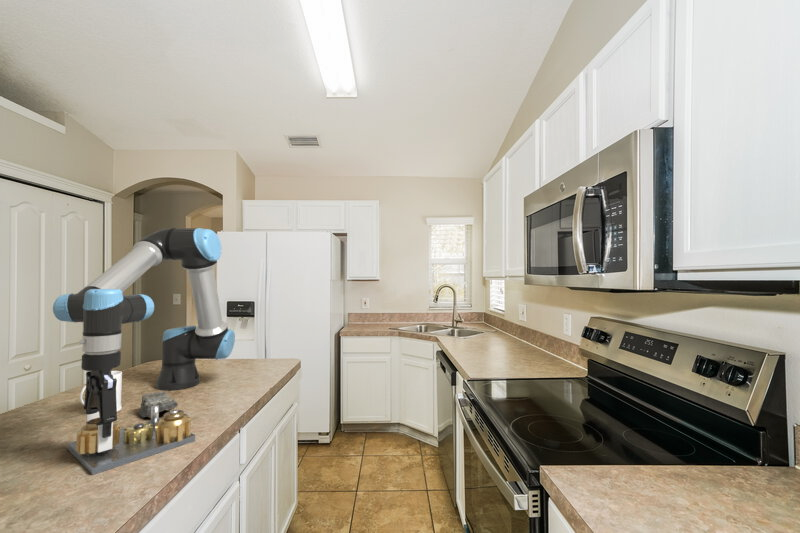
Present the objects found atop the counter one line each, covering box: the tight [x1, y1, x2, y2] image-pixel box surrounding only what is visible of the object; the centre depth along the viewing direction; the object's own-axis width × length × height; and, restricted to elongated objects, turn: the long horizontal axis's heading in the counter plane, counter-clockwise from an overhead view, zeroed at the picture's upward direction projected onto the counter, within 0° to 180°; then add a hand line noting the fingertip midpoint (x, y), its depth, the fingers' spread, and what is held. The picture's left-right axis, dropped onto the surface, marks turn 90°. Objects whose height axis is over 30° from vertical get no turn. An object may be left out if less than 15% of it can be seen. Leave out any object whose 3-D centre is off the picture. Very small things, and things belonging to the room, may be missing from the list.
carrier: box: [67, 405, 196, 476], centre depth 98 cm, size 22×21×8 cm
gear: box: [75, 417, 121, 454], centre depth 92 cm, size 8×8×6 cm
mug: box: [79, 370, 123, 413], centre depth 121 cm, size 12×8×12 cm
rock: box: [139, 390, 179, 419], centre depth 120 cm, size 13×9×6 cm, turn 63°
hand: (98, 444), depth 92 cm, fingers closed on gear, 8 cm apart
